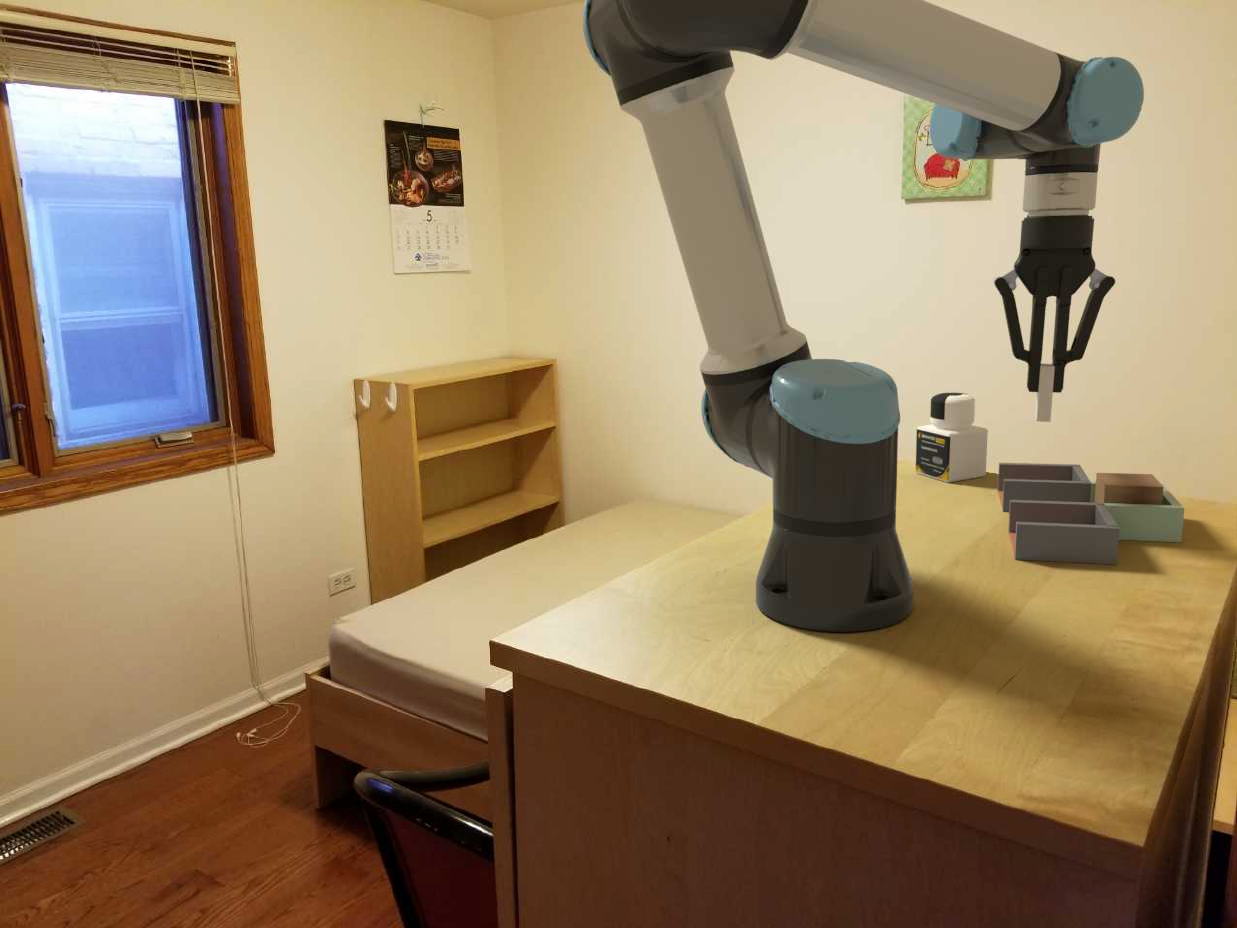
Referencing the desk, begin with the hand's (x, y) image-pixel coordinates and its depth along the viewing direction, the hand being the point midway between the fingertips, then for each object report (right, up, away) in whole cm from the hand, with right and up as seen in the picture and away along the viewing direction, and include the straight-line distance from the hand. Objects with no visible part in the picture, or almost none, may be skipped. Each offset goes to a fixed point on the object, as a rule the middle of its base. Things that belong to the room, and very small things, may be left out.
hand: (1042, 419), depth 115 cm
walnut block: (+10, -13, 0) cm, 16 cm away
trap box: (+6, -13, +2) cm, 14 cm away
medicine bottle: (-2, -7, +27) cm, 28 cm away
